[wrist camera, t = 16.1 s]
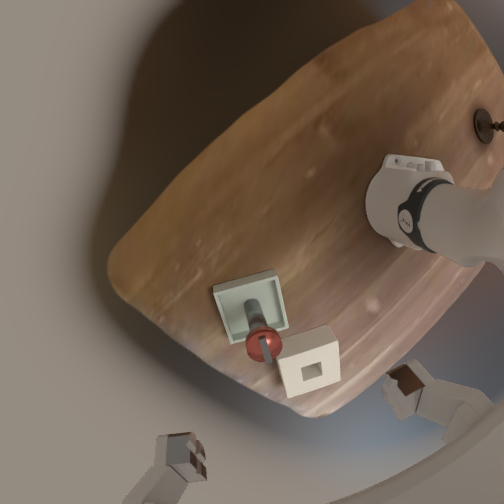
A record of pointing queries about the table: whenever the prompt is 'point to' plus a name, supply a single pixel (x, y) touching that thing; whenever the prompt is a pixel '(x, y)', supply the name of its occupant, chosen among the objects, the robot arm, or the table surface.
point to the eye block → (309, 361)
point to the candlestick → (485, 126)
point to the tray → (242, 289)
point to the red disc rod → (260, 334)
